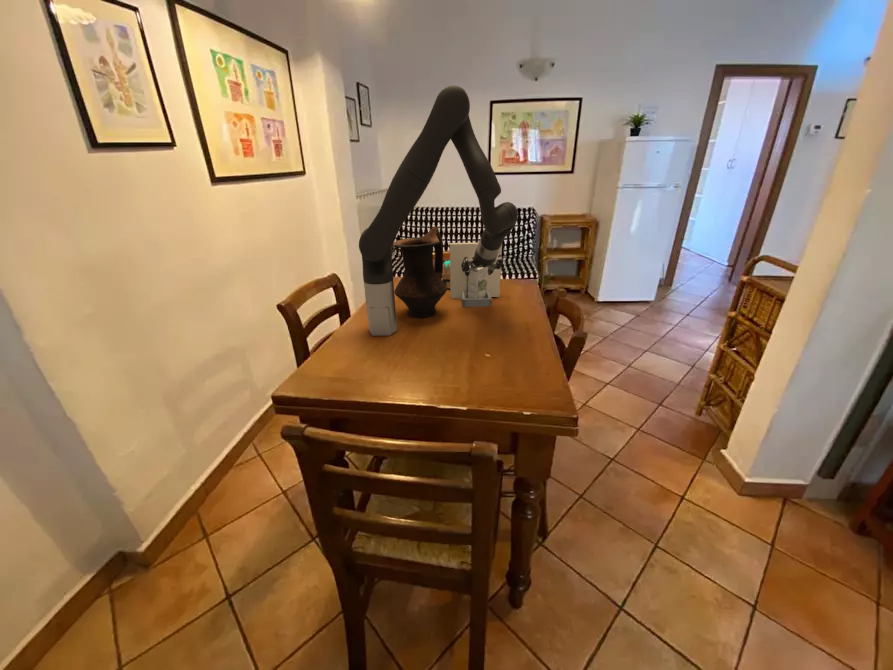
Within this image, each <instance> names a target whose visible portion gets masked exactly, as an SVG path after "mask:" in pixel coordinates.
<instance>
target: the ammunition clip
mask: <svg viewBox="0 0 893 670" xmlns="http://www.w3.org/2000/svg"><path fill="white" fill-rule="evenodd" d="M443 263H444V262H443ZM446 276H447V278H446ZM442 281H443V282H444V284H445V285H446V287H447V290H450V266H449V263H448V265H447V270H446V266H445V263H444V264H443V274H442Z"/></svg>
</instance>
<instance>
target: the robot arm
mask: <svg viewBox="0 0 893 670" xmlns="http://www.w3.org/2000/svg"><path fill="white" fill-rule="evenodd" d="M470 105H471V103H470V98H469V96H468V93H467V92H466V90H465V89H464V88H463V87H461V86H459V85H448V86H447V87H444V88H443V89H441V91H440V92H439V93H438V94H437V96H436V99H435V101H434V103H433V106H432V108H431V111H430V113H429V115H428V117H427V120H426V121H425V124H424V126H423V127H422V130H421V132H420V133H419V135H418V137H417V138H416V140H414V142H413V144H412V146H410V148H409V150H408V152H407V153H406V155H405V157H404V158H403V159H402V161H401V163H400V164H399V166H398V169H397V170H396V172H395V174H394V176H393V177H392V180H391V181H390V184H389V186H388V189H387V190H386V194H385V195H384V198H383V201H382V204H381V206H380V208H379V210H378V213H377V214H376V216H375V217H374V219H373V220H372V222H371V223H370V225H369V226H368V227H367V228H366V229H365V230H363V231H362V233H361V235H360V238H359V239H358V250H359V252H360V254H361V260H362V261H361V262H362V278H363V279H362V280H363V288H364V296H365V297H364V298H365V306H366V313H367V315H366V316H367V322H368V331H369V333H370V334H371V336H376V337H377V336H378V337H379V336H384V337H385V336H392V334H394V333H396V332H397V331H398V325H397V324H398V322H397V311H396V309H397V308H396V299H395V298H396V297H395V296H396V295H395V284H394V269H393V258H392V257H393V256H392V255H393V254H392V247H393V243H395V239H396V237H397V235H398V233H399V232H400V231H399V230H401V227H402V225H403V223H405V221H406V220H407V218H408V217H409V216H410V214H411V212H413V210H414V208H415V207H416V205H417V204H418V202H419V201H420V199H421V198H422V196H423V194H424V193H425V191H426V190H427V187H428V185H430V182H431V180H432V179H433V176H434V175H435V173H436V170H437V168H438V165H439V163H440V160H441V158H442V155H443V153H444V151H445V149H446V147H447V145H448V143H449V141H451V142H452V144H453V146H454V148H455V150H456V151H457V154H458V156H459V158H460V159H461V162H462V165H463V167H464V169H465V172H466V174H467V176H468V180H469V181H470V183H471V186H472V188H473V190H474V193H475V195H476V197H477V200H478V205H479V208H480V216H481V220H482V225H483V227H484V229H483V231H482V234H481V237H480V239H478V242H477V243H478V245H477V248H476V251H475V254H474V257H473V258H472V259H468V257H464V260H463V262H462V264H461V266H462V271H463V272H465V275H466V276H469V274H470V271H471V270H475V269H477V268H481V267H488V275H491V274H492V273H493V271H494V270H495V269H500V268H501V269H502V265H503V263H504V262H503V260H504V259H503V256H502V255H499V256H498V257H497V255H498V253H499V251H500V248H501V245H502V246H503V243H504V240H505V238H506V237H507V236H508V235H509V233H510V232H511V231H512V230H513V229H514V227H515V225H516V223H517V222H518V219H519V212H518V208H517V207H516V205H515V204H514V203H512V202H509V201H506V202H502V203H500V204H497V206H495V200H496V198H498V197H499V196H500V195H501V193H502V188H501V185H500V182H499V180H498V178H497V176H496V175H497V174H495V170H494V169H493V167H492V164H491V163H490V161H489V159H488V158H487V156H486V154H485V153H484V150H483V149H482V148H481V146H480V144H479V141H478V140H477V137H476V134H475V132H474V129H473V126H472V123H471V119H470V118H471V117H470V110H471V108H470V107H471V106H470ZM495 261H496V264H494V262H495ZM474 265H475V266H474ZM469 266H471V267H470V268H469Z"/></svg>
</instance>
